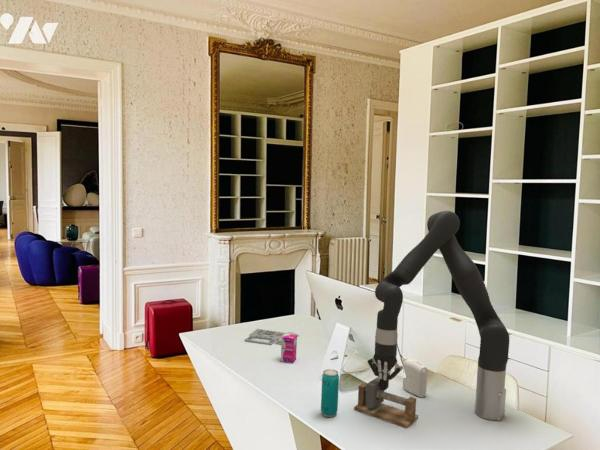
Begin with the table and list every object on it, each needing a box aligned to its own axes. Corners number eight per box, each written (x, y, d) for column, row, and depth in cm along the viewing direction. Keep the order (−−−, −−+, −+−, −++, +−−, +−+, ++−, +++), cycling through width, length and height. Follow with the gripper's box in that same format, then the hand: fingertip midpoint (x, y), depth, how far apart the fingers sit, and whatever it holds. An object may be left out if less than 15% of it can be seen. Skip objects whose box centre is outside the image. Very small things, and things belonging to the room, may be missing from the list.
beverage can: (327, 408, 175) (328, 367, 173) (340, 414, 171) (342, 372, 170) (317, 414, 170) (318, 372, 169) (330, 419, 166) (332, 376, 165)
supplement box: (280, 362, 218) (281, 336, 217) (284, 357, 224) (284, 333, 223) (293, 363, 217) (294, 338, 216) (296, 359, 222) (297, 334, 221)
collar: (383, 400, 177) (384, 379, 176) (373, 408, 170) (374, 386, 170) (376, 398, 179) (377, 377, 178) (365, 406, 172) (366, 383, 171)
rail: (418, 418, 170) (419, 395, 169) (406, 428, 162) (408, 404, 162) (366, 401, 182) (367, 380, 181) (354, 410, 174) (355, 388, 174)
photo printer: (400, 388, 195) (402, 357, 194) (409, 386, 197) (410, 356, 196) (419, 398, 186) (421, 366, 185) (427, 396, 188) (429, 364, 187)
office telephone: (299, 332, 257) (286, 343, 238) (298, 337, 257) (286, 348, 238) (257, 326, 264) (242, 336, 245) (257, 331, 264) (242, 342, 245)
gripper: (408, 342, 169) (405, 391, 171) (374, 334, 177) (371, 380, 179) (399, 347, 163) (396, 398, 165) (364, 338, 171) (361, 387, 173)
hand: (383, 389), depth 172 cm, fingers closed
